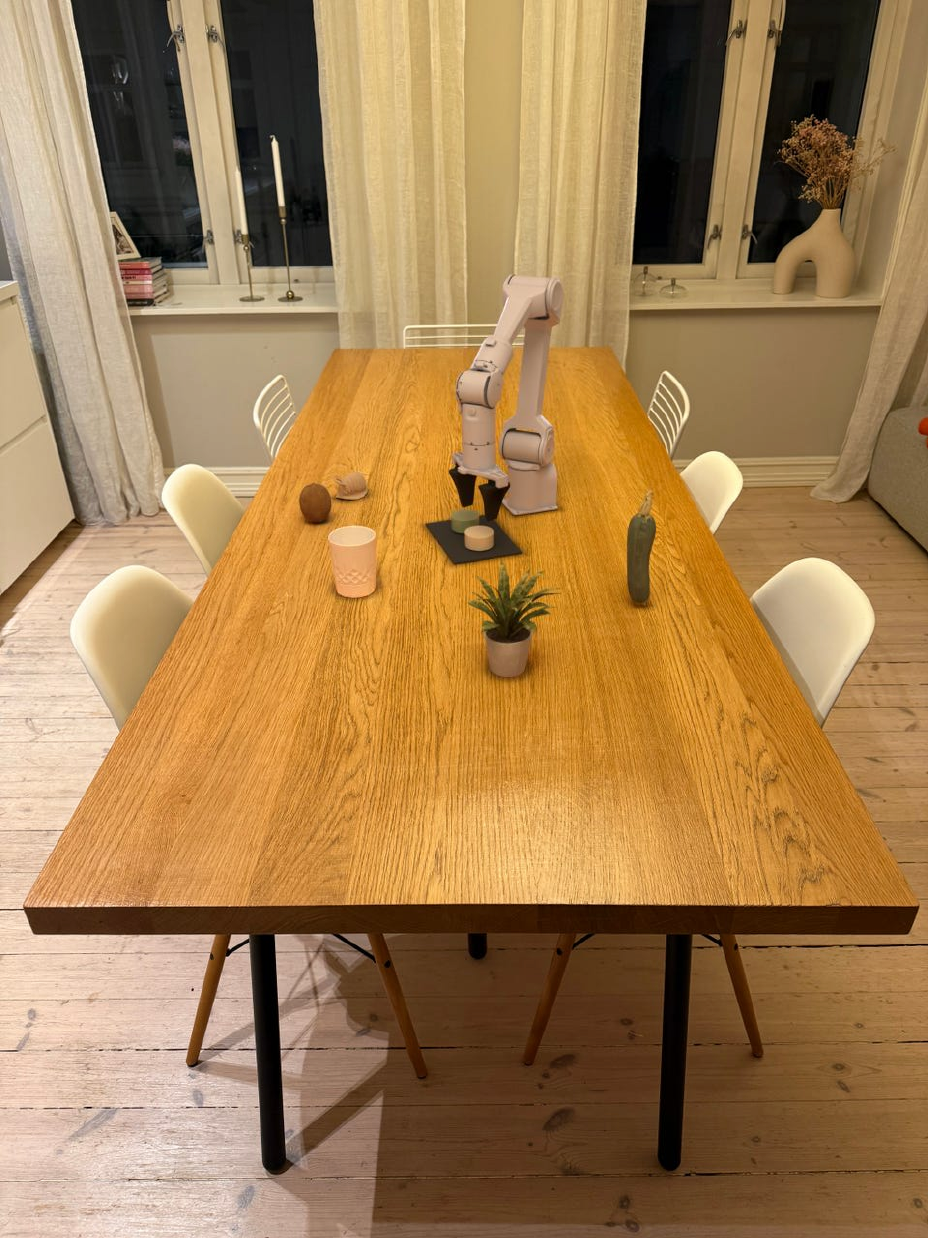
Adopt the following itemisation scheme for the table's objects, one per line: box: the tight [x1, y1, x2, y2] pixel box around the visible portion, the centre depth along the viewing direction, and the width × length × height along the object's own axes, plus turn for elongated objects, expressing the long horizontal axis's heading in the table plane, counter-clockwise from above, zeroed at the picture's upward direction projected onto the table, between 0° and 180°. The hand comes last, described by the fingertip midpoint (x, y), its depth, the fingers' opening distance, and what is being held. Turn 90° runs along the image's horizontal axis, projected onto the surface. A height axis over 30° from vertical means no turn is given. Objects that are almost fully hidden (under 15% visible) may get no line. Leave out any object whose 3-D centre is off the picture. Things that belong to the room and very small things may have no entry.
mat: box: [425, 514, 523, 565], centre depth 180 cm, size 13×18×1 cm
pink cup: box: [327, 525, 377, 599], centre depth 161 cm, size 8×8×10 cm
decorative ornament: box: [333, 471, 369, 501], centre depth 197 cm, size 4×8×5 cm, turn 130°
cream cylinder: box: [464, 526, 494, 551], centre depth 176 cm, size 5×5×3 cm
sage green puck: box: [450, 508, 480, 533], centre depth 182 cm, size 5×5×3 cm
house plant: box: [467, 560, 563, 678], centre depth 136 cm, size 14×14×16 cm
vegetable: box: [626, 488, 657, 607], centre depth 152 cm, size 4×4×20 cm
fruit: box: [298, 482, 332, 523], centre depth 186 cm, size 6×6×8 cm
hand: (479, 512), depth 173 cm, fingers open, 7 cm apart
